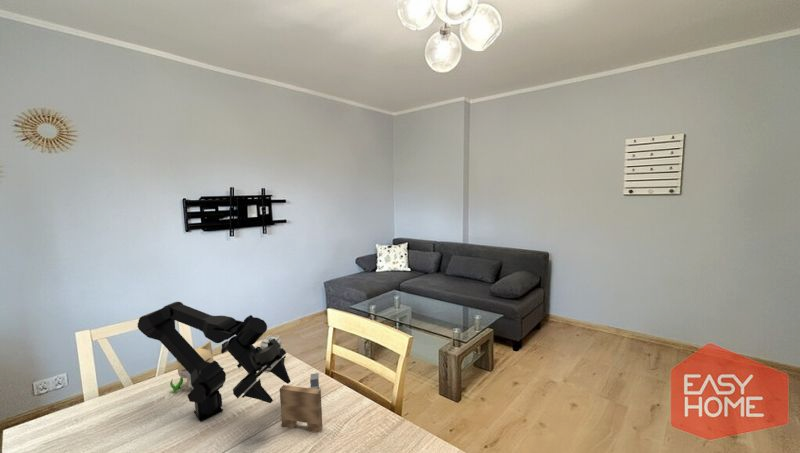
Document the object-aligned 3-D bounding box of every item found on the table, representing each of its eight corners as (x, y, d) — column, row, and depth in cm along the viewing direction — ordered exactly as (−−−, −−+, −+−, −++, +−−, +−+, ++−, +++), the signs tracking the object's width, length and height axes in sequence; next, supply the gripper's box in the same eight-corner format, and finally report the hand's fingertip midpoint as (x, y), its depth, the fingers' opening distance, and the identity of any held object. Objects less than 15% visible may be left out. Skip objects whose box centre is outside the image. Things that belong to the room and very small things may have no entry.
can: (268, 374, 124) (266, 344, 122) (258, 367, 128) (256, 338, 127) (286, 365, 130) (284, 336, 128) (275, 359, 134) (273, 331, 133)
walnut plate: (281, 426, 97) (279, 388, 95) (285, 421, 99) (283, 384, 97) (319, 432, 94) (317, 394, 93) (322, 427, 96) (320, 389, 95)
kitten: (169, 400, 110) (165, 358, 108) (172, 384, 118) (168, 345, 116) (220, 385, 117) (217, 346, 115) (219, 372, 126) (216, 335, 124)
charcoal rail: (317, 413, 102) (316, 398, 102) (308, 414, 102) (308, 399, 101) (318, 386, 116) (318, 373, 115) (311, 387, 115) (310, 374, 115)
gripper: (238, 352, 86) (278, 396, 85) (279, 323, 105) (312, 359, 104) (216, 377, 89) (254, 419, 88) (259, 344, 107) (291, 379, 106)
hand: (281, 391), depth 96 cm, fingers open, 9 cm apart
